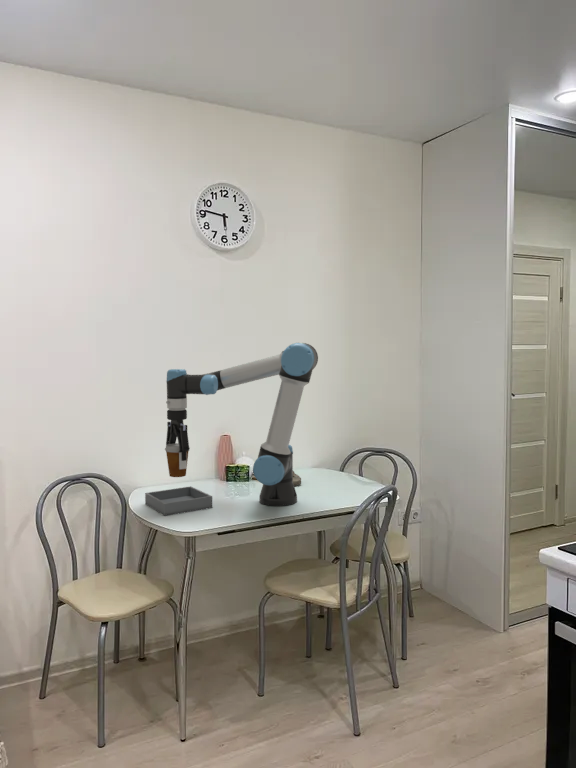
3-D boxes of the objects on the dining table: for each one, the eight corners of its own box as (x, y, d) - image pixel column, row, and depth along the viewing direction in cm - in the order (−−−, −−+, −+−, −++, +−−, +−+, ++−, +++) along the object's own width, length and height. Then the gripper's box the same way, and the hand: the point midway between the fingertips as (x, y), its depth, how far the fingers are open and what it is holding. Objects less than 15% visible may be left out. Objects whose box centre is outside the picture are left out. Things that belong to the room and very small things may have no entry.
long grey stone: (264, 474, 302) (247, 478, 297) (263, 464, 302) (246, 467, 296) (308, 484, 274) (290, 488, 268) (307, 472, 274) (289, 476, 268)
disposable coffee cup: (169, 479, 232) (169, 448, 232) (162, 474, 241) (161, 444, 240) (193, 476, 237) (193, 445, 236) (185, 472, 245) (184, 442, 244)
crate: (212, 507, 237) (212, 496, 237) (164, 515, 226) (164, 503, 226) (191, 497, 253) (190, 486, 253) (145, 504, 242) (145, 492, 242)
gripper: (156, 407, 244) (157, 462, 246) (179, 412, 226) (180, 472, 227) (174, 406, 248) (175, 460, 250) (198, 411, 230) (198, 470, 231)
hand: (177, 466), depth 239 cm, fingers closed on disposable coffee cup, 9 cm apart
